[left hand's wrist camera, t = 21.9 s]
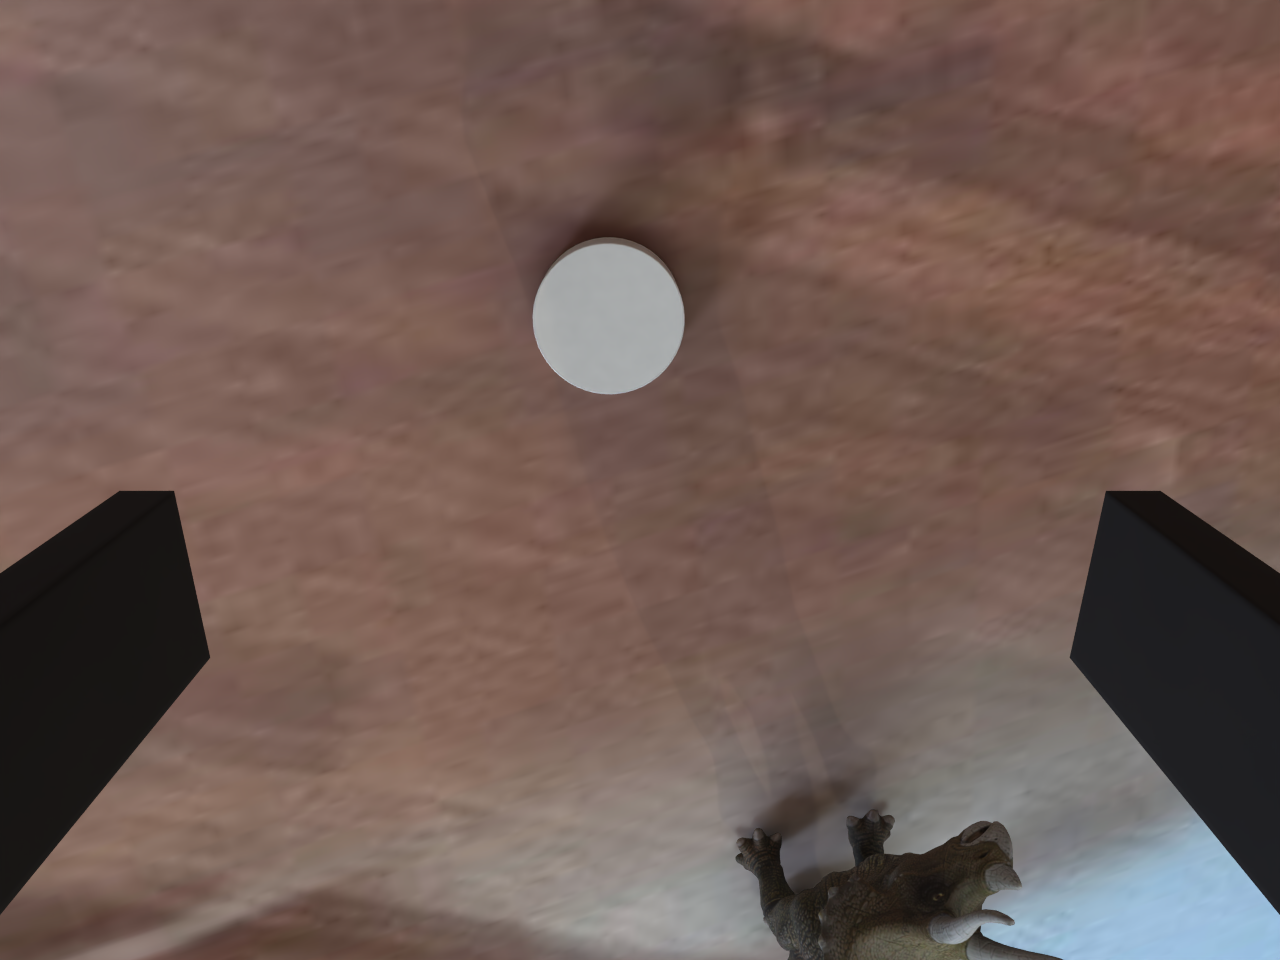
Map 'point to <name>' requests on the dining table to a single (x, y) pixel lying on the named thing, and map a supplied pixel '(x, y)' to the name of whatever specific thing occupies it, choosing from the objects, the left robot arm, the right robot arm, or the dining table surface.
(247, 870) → the dining table surface
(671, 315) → the lid
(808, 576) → the dining table surface
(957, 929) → the toy dinosaur
